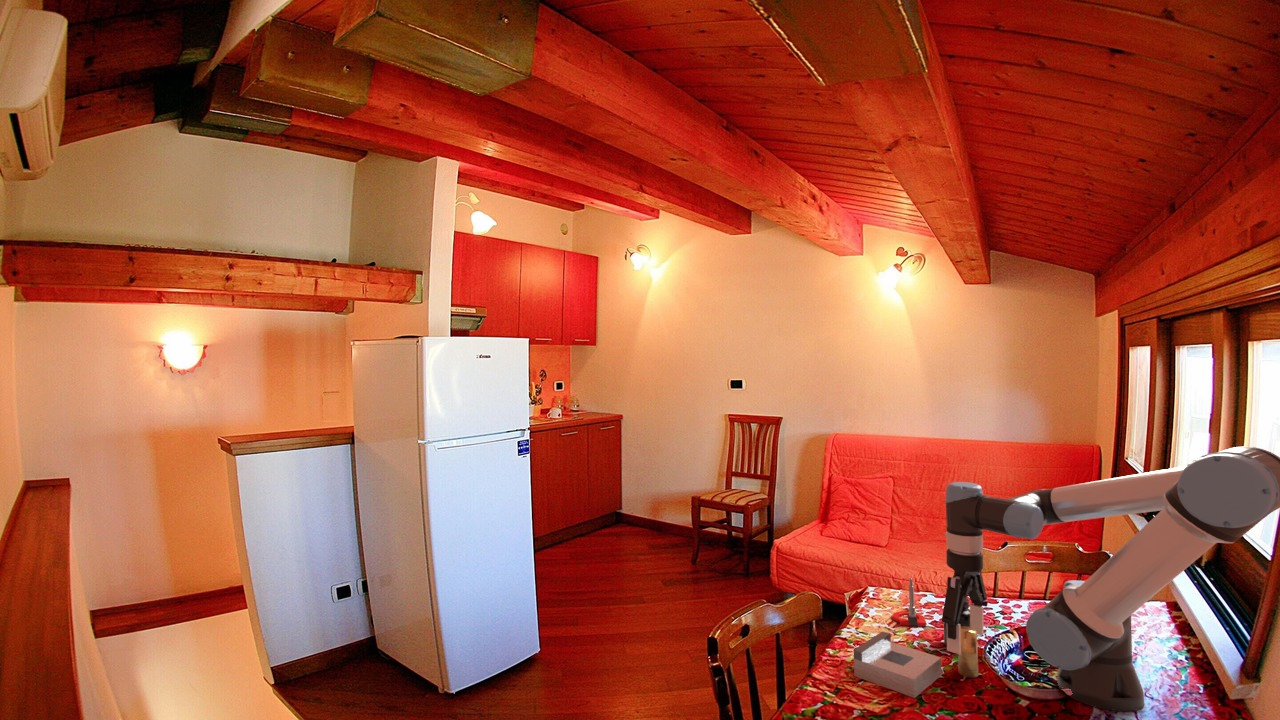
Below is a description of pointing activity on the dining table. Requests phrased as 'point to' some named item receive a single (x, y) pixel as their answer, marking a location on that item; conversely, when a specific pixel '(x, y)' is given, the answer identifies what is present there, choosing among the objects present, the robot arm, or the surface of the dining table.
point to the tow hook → (910, 612)
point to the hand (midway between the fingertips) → (965, 642)
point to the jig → (895, 665)
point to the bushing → (968, 652)
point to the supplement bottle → (963, 619)
